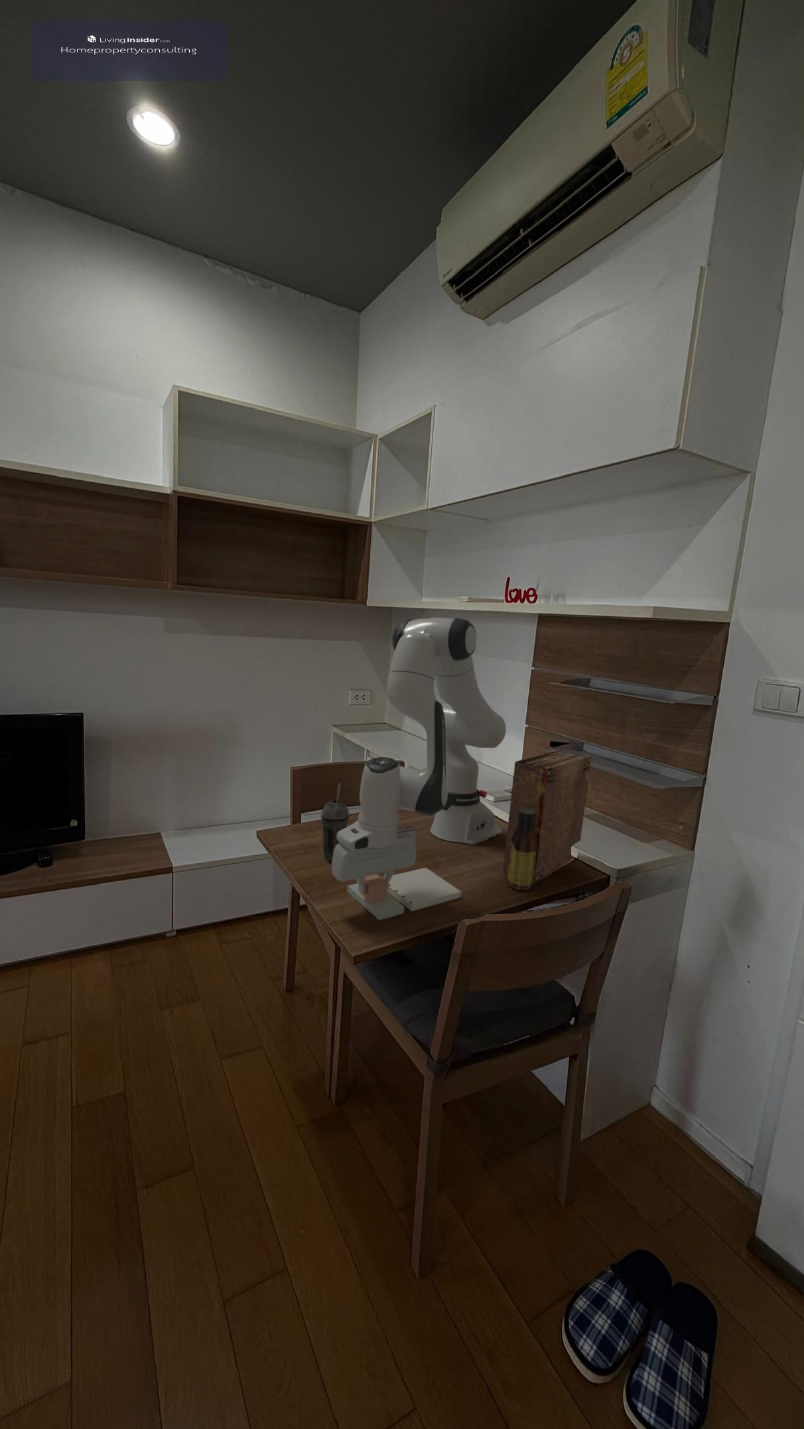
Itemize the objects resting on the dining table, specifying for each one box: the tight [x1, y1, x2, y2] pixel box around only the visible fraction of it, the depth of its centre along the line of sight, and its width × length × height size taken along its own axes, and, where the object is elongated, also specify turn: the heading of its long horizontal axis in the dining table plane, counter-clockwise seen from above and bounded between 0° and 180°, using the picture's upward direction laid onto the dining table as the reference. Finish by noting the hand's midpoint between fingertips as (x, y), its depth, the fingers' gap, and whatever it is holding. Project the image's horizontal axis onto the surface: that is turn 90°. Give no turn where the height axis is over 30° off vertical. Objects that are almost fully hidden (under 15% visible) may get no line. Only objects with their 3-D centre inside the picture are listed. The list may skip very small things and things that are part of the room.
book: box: [502, 748, 592, 886], centre depth 153 cm, size 25×9×30 cm, turn 138°
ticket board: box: [387, 867, 462, 912], centre depth 136 cm, size 14×14×2 cm
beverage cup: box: [320, 783, 350, 862], centre depth 149 cm, size 7×7×20 cm
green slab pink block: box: [347, 873, 405, 921], centre depth 129 cm, size 6×14×6 cm, turn 34°
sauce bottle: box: [507, 808, 537, 892], centre depth 140 cm, size 7×6×20 cm
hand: (373, 890), depth 128 cm, fingers closed on green slab pink block, 4 cm apart
